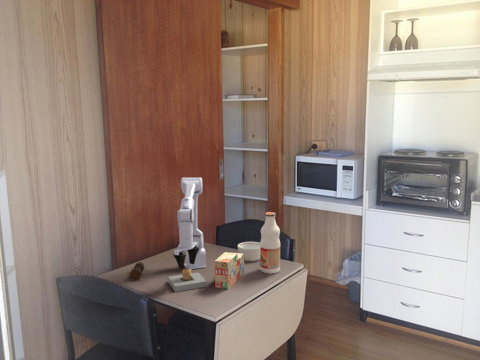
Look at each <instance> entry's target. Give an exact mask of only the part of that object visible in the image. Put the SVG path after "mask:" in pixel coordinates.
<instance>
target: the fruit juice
mask: <svg viewBox="0 0 480 360" xmlns="http://www.w3.org/2000/svg"><path fill="white" fill-rule="evenodd" d="M264 215H265V220H264V224H263V225H262V227H261V229H260V234H261V235H260V236H261V238H260V242H259V243H260V259H259V261H260V263H259V264H260V265H259V266H260V267H259V269H260V272H262V273H263V272H264V273H263V274H268V273H269V275H270V274H271V275H273V273H274V274H277V273H279V272H280V271H281V241H280V234H281V229H280V227H279V226H278V225H277V222H276V215H277V214H276V212H272V211H268V212H265V213H264Z"/></svg>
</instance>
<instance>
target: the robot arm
mask: <svg viewBox="0 0 480 360" xmlns="http://www.w3.org/2000/svg"><path fill="white" fill-rule="evenodd" d="M180 189H181V192H182V194H184V197H183V198H182V199H181V202H180V208H179V209H178V210H177V222H178V223H177V225H178V228H179V229H178V230H179V231H178V232H179V244H178V245H177V248H175V249H174V250H173V253H172V255H173V257H174V258H175V261H176V263H177V267H178V269H179V270H183V269H186V268H189V269H191V270H195V269H201V268H202V269H203V268H207V253H206V249H205V247H204V233H203V232H202V230H200V229H199V228H198V198H199V196H200V195H202V194H203V178H202V177H181V178H180ZM184 252H185V254H184Z"/></svg>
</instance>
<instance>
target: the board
mask: <svg viewBox="0 0 480 360" xmlns="http://www.w3.org/2000/svg"><path fill="white" fill-rule="evenodd" d="M182 278H183V277H182V274H177V275H170V276H168V278H167V279H168V280H167V281H168V282H167V283H168V284H169V285H170V286H171V288H172V290H173V291H174V292H175V293H176V292H181V291H188V290H194V289H200V288H201V289H202V288H206V287H208V285H207V283H208V281H207V280H206V279H205V278H204V277H203V276H202V275H201V273H199V272H191V278H192V279H191V281H186V282H183V279H182Z"/></svg>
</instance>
